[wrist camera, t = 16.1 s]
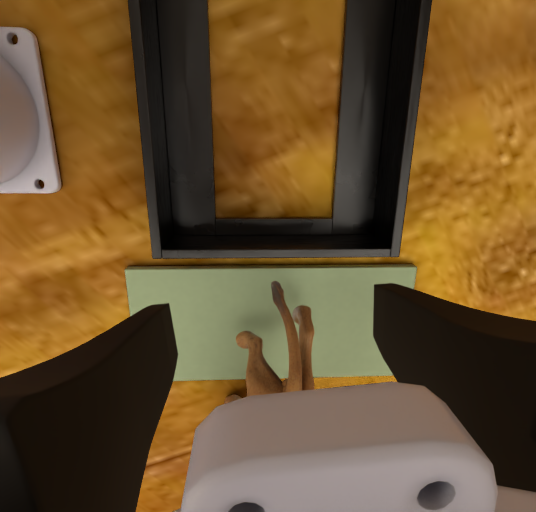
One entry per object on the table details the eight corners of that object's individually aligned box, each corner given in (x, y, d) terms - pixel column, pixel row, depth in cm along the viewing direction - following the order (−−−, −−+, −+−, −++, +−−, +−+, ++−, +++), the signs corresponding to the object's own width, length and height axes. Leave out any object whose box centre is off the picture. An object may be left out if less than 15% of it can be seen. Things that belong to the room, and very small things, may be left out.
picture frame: (166, 242, 21) (152, 259, 18) (137, -116, 16) (110, -182, 13) (377, 241, 21) (399, 257, 18) (414, -103, 16) (453, -162, 13)
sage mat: (140, 376, 24) (138, 382, 23) (127, 266, 21) (124, 269, 21) (398, 370, 24) (401, 375, 24) (413, 263, 22) (417, 266, 21)
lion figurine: (290, 432, 27) (308, 587, 19) (221, 433, 26) (210, 591, 19) (318, 276, 19) (366, 427, 11) (222, 272, 19) (205, 427, 11)
